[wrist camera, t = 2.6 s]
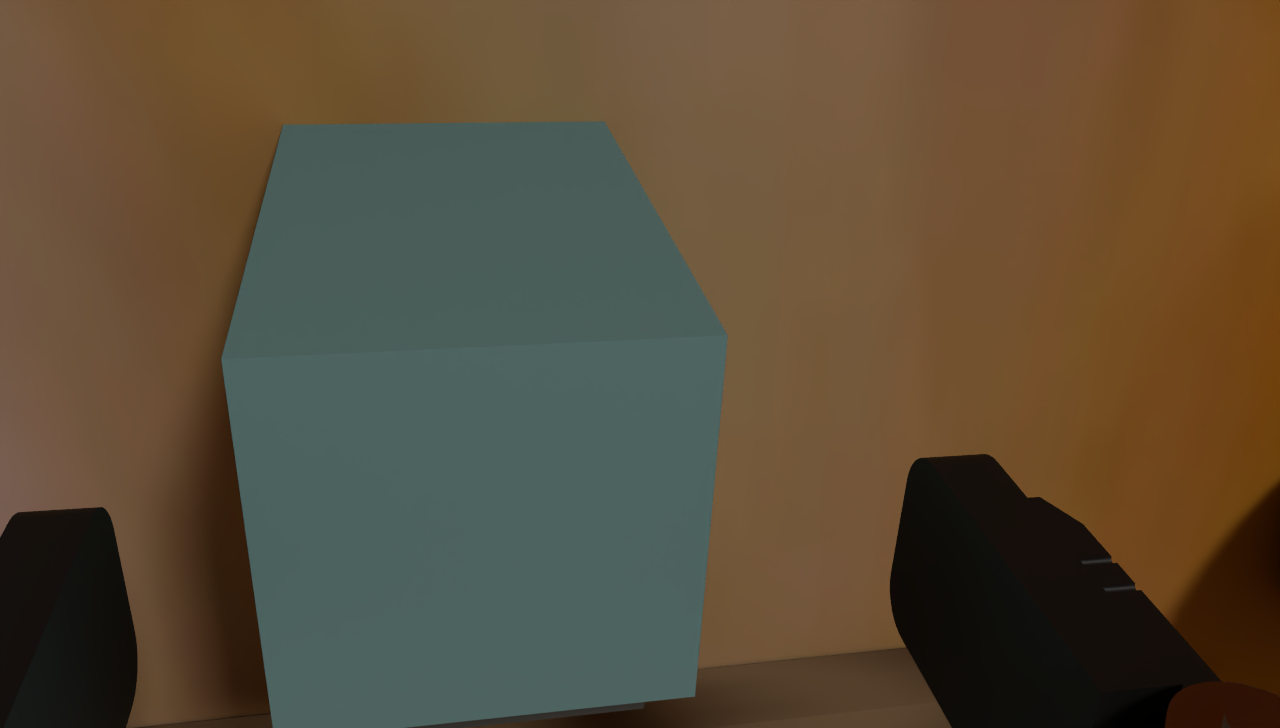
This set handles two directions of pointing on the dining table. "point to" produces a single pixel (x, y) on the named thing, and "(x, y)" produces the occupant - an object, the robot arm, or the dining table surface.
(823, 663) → the rail
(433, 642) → the teal block
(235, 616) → the dining table surface
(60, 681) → the robot arm
